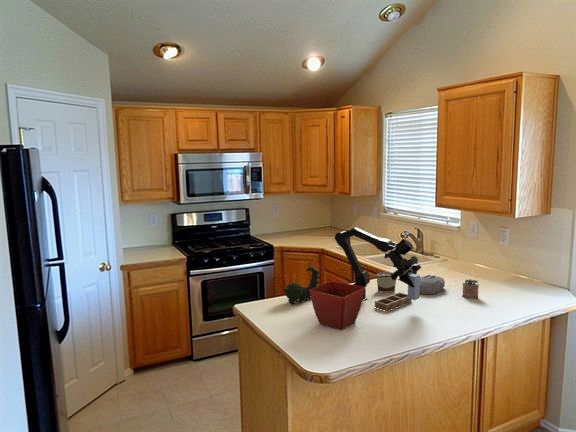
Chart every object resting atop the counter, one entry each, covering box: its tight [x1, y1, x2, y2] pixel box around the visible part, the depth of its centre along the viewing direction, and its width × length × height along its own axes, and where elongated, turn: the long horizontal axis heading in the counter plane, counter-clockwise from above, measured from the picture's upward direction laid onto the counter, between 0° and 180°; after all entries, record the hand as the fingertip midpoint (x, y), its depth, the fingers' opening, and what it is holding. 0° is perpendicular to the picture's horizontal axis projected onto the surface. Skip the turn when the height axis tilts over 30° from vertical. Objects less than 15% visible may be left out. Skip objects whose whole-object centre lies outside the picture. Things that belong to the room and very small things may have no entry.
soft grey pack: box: [419, 274, 446, 295], centre depth 242 cm, size 15×8×20 cm
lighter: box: [461, 278, 480, 300], centre depth 228 cm, size 8×3×10 cm, turn 62°
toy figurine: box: [282, 266, 320, 304], centre depth 228 cm, size 9×19×25 cm
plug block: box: [407, 274, 421, 301], centre depth 209 cm, size 4×4×12 cm
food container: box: [375, 271, 397, 291], centre depth 243 cm, size 12×6×10 cm, turn 84°
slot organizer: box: [374, 292, 413, 312], centre depth 219 cm, size 21×8×4 cm, turn 130°
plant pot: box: [310, 280, 366, 330], centre depth 196 cm, size 19×19×17 cm
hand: (416, 286), depth 207 cm, fingers closed on plug block, 4 cm apart
